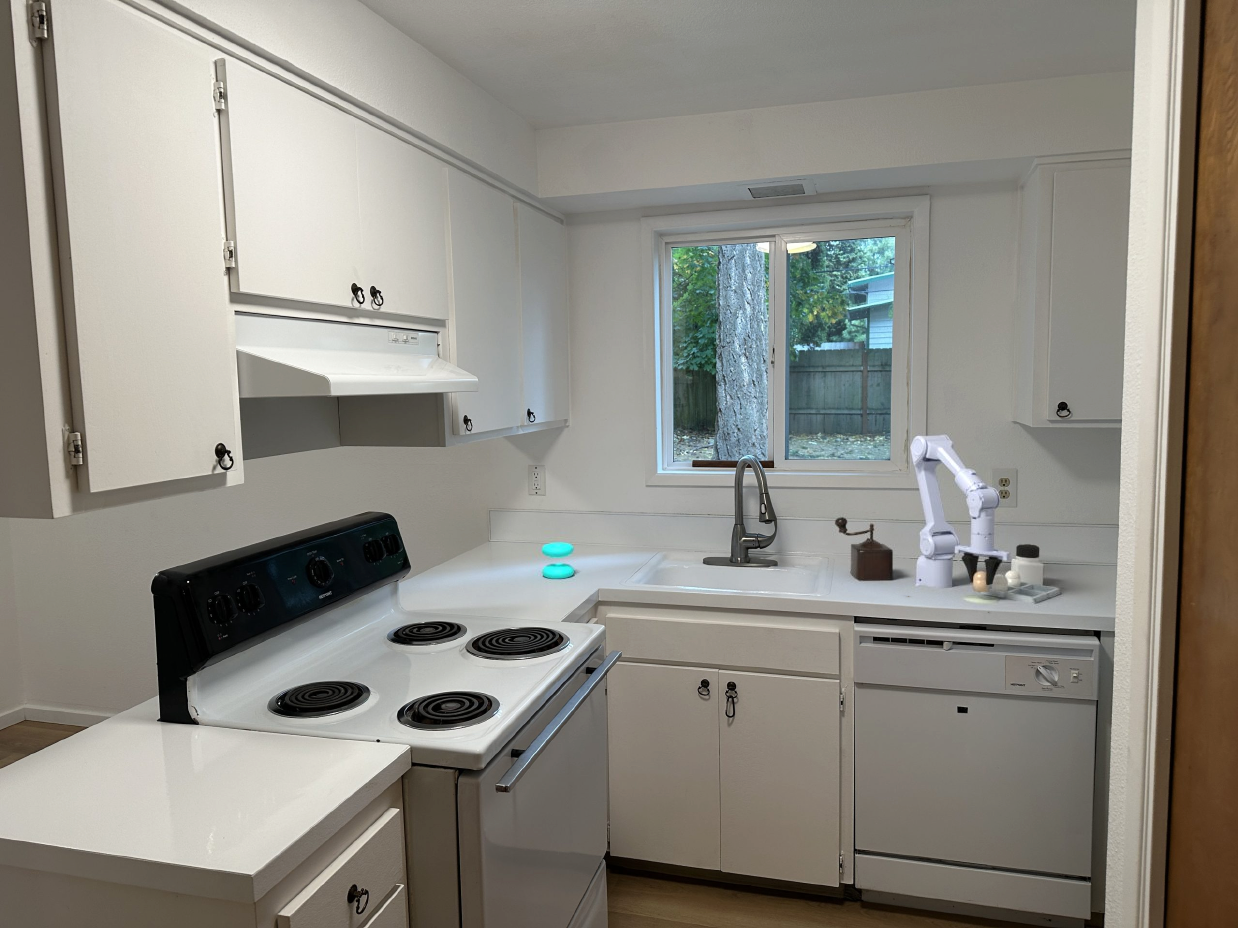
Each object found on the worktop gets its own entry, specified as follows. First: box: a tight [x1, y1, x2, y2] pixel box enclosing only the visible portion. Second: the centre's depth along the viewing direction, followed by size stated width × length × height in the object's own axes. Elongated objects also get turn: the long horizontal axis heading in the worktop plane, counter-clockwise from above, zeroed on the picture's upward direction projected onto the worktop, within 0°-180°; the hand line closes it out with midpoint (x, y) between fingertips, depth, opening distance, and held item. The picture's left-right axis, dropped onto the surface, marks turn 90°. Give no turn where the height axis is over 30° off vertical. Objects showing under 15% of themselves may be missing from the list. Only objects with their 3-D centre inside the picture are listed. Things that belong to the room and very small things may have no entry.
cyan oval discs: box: [541, 542, 575, 580], centre depth 273 cm, size 10×10×10 cm
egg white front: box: [992, 573, 1008, 592], centre depth 240 cm, size 4×4×5 cm
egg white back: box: [1004, 570, 1021, 588], centre depth 244 cm, size 4×4×5 cm
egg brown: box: [972, 570, 989, 593], centre depth 233 cm, size 4×4×5 cm
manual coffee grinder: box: [834, 516, 894, 582], centre depth 264 cm, size 16×11×18 cm
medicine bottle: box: [1010, 543, 1045, 585], centre depth 250 cm, size 7×7×12 cm
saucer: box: [962, 594, 1000, 604], centre depth 234 cm, size 9×9×1 cm
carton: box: [977, 582, 1062, 604], centre depth 239 cm, size 16×16×2 cm
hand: (981, 582), depth 233 cm, fingers closed on egg brown, 4 cm apart
